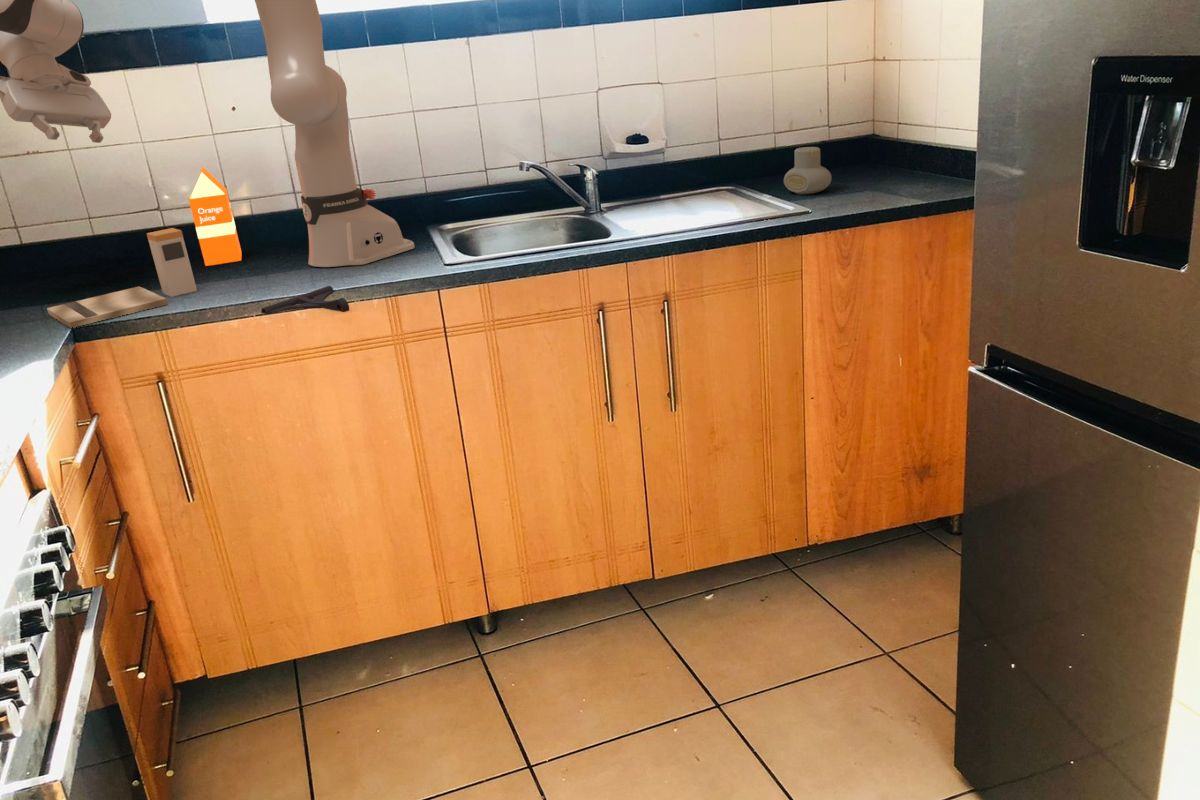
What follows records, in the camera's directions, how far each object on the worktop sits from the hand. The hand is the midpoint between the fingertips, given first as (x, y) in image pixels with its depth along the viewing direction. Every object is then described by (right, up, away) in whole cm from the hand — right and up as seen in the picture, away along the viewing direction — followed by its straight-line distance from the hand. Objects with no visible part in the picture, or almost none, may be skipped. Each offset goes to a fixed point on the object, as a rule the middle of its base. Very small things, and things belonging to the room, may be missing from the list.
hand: (77, 139), depth 184 cm
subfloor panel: (+8, -33, -5) cm, 35 cm away
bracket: (+52, -35, -16) cm, 64 cm away
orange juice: (+17, -19, +28) cm, 38 cm away
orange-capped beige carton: (+19, -29, +3) cm, 35 cm away
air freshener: (+150, -2, +39) cm, 155 cm away
